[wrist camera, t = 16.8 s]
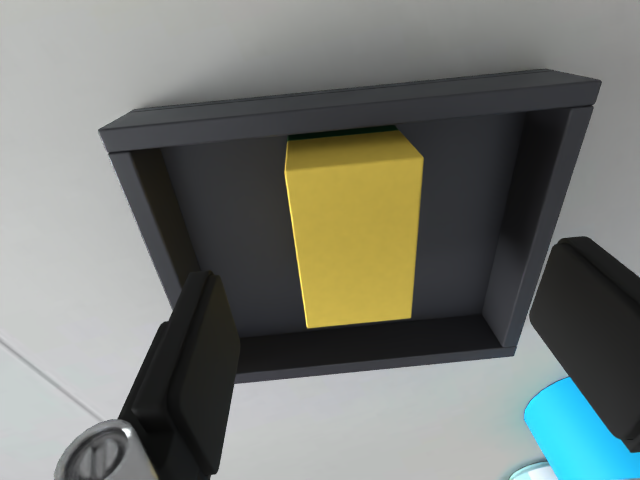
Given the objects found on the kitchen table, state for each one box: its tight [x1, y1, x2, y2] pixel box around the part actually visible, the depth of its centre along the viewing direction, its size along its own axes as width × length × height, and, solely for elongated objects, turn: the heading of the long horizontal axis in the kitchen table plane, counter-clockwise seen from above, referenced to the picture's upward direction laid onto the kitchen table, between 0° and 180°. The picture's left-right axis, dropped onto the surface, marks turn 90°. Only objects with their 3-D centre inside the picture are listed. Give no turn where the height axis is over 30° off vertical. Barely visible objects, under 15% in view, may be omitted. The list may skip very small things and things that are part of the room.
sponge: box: [284, 125, 424, 328], centre depth 14 cm, size 7×4×4 cm, turn 5°
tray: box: [98, 69, 602, 384], centre depth 16 cm, size 14×17×3 cm
